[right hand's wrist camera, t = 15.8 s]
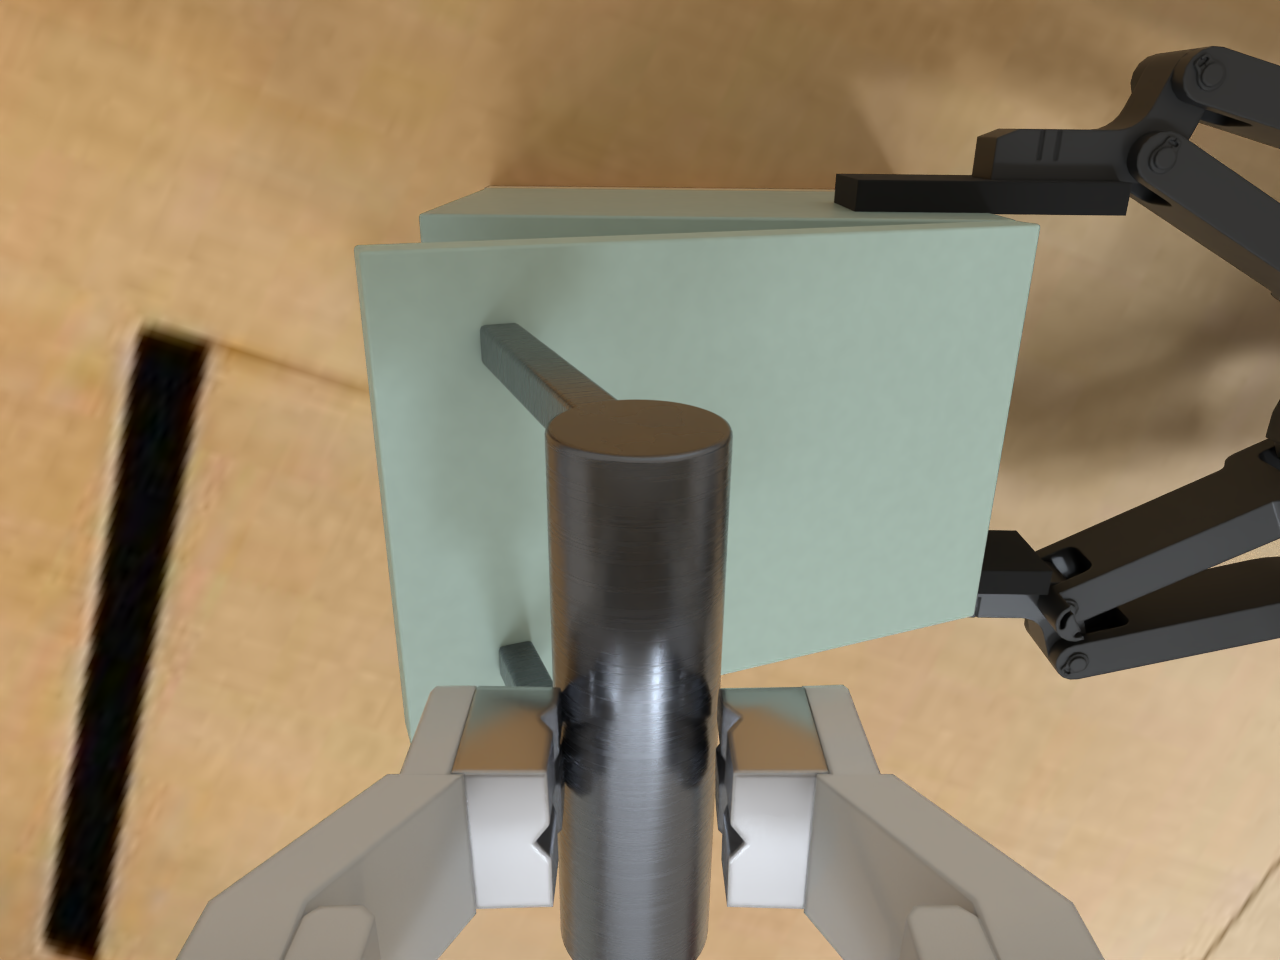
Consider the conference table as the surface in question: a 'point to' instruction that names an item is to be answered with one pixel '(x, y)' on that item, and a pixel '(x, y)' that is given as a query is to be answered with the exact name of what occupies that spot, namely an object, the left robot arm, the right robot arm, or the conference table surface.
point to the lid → (678, 494)
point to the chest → (650, 212)
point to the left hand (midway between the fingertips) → (827, 390)
